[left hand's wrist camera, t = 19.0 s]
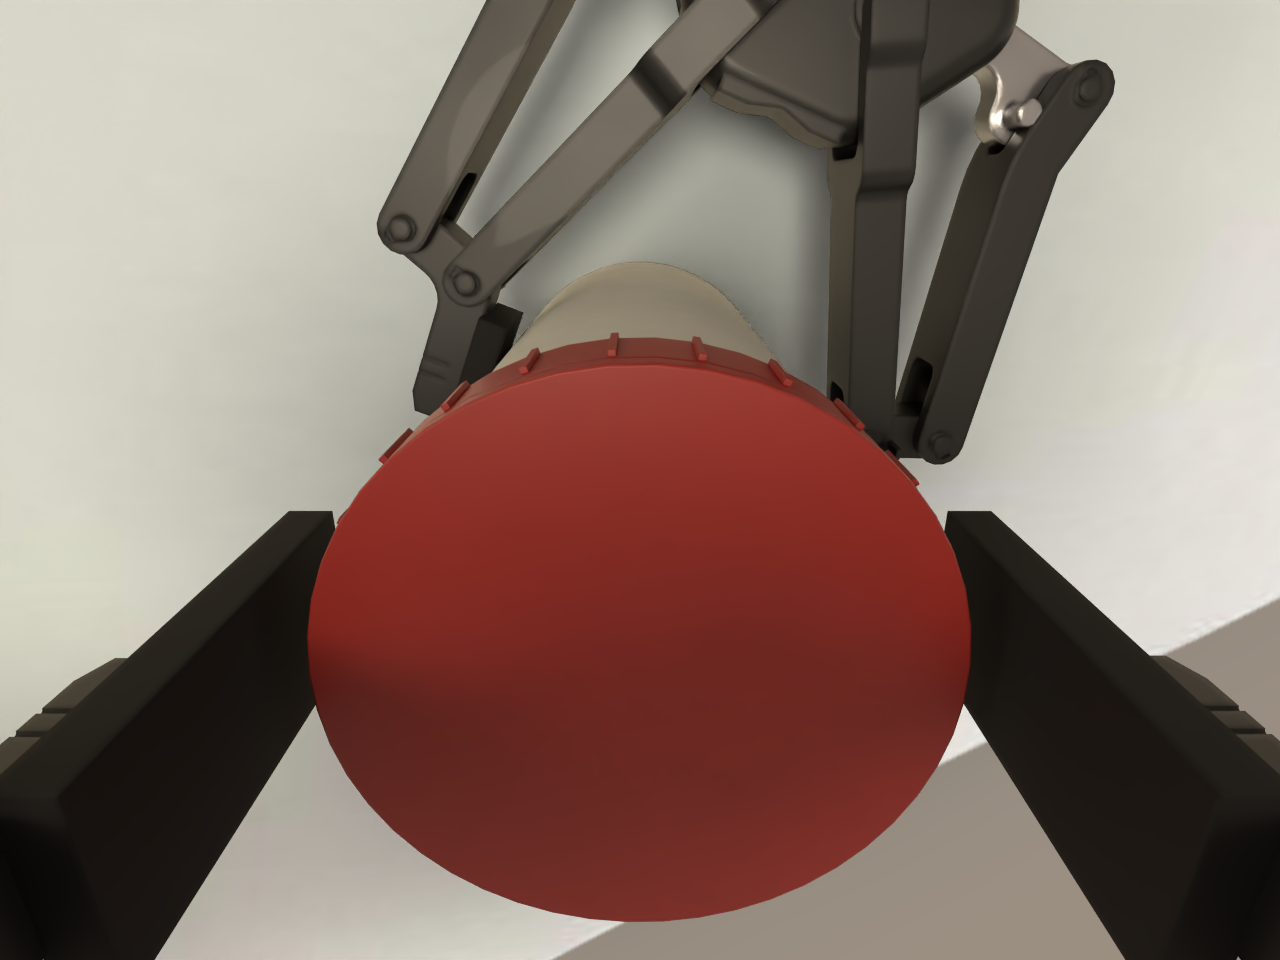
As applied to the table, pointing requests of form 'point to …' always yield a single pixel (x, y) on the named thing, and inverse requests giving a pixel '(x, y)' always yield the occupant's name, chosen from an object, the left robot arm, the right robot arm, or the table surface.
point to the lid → (639, 633)
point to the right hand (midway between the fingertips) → (583, 573)
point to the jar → (639, 312)
